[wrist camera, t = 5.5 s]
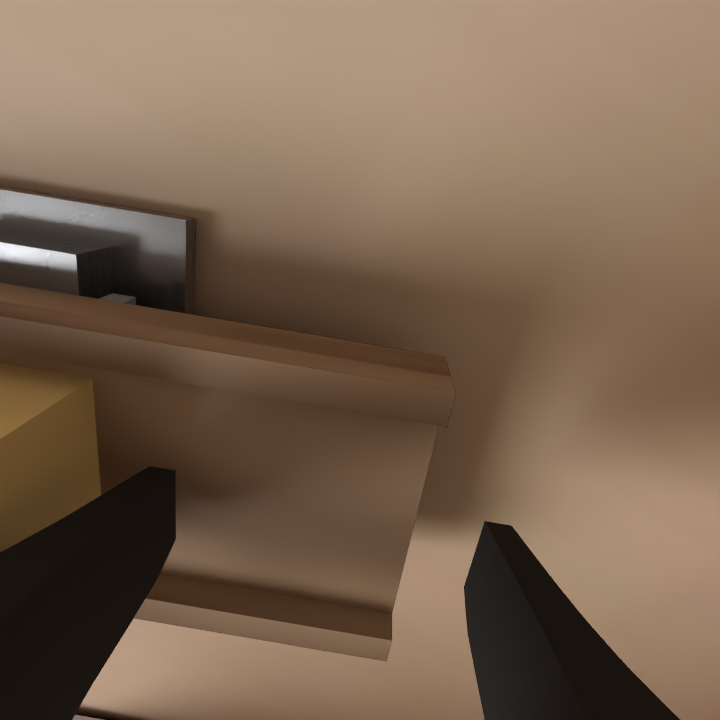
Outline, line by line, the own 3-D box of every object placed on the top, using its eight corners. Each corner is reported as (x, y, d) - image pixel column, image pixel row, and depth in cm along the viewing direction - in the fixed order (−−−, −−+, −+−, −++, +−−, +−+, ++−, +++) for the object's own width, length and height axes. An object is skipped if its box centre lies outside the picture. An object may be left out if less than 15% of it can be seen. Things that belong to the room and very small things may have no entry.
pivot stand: (190, 558, 16) (164, 606, 15) (-26, 521, 17) (-79, 564, 15) (195, 218, 12) (159, 224, 10) (-100, 169, 12) (-189, 166, 10)
